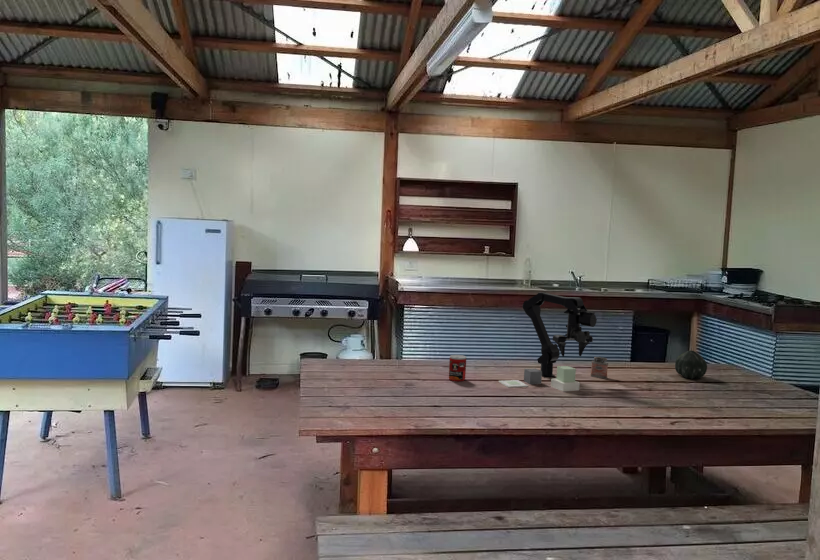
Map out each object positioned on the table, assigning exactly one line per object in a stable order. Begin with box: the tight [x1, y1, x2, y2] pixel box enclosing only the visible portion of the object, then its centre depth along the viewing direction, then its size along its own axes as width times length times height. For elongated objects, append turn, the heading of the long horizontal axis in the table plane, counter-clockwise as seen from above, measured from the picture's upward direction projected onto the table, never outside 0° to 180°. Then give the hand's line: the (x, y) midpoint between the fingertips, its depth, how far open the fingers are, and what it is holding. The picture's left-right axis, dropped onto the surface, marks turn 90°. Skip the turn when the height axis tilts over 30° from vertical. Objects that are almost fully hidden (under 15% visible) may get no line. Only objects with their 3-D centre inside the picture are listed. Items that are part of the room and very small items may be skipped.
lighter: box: [590, 356, 609, 379], centre depth 317 cm, size 8×3×10 cm, turn 62°
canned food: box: [448, 354, 467, 382], centre depth 299 cm, size 8×8×11 cm
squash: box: [674, 350, 708, 380], centre depth 325 cm, size 14×15×15 cm
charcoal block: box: [523, 368, 543, 385], centre depth 300 cm, size 6×6×6 cm
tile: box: [498, 379, 529, 388], centre depth 295 cm, size 10×10×1 cm
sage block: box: [555, 365, 577, 382], centre depth 291 cm, size 6×6×6 cm
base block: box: [550, 377, 581, 392], centre depth 291 cm, size 9×9×4 cm
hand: (571, 356), depth 305 cm, fingers open, 9 cm apart
